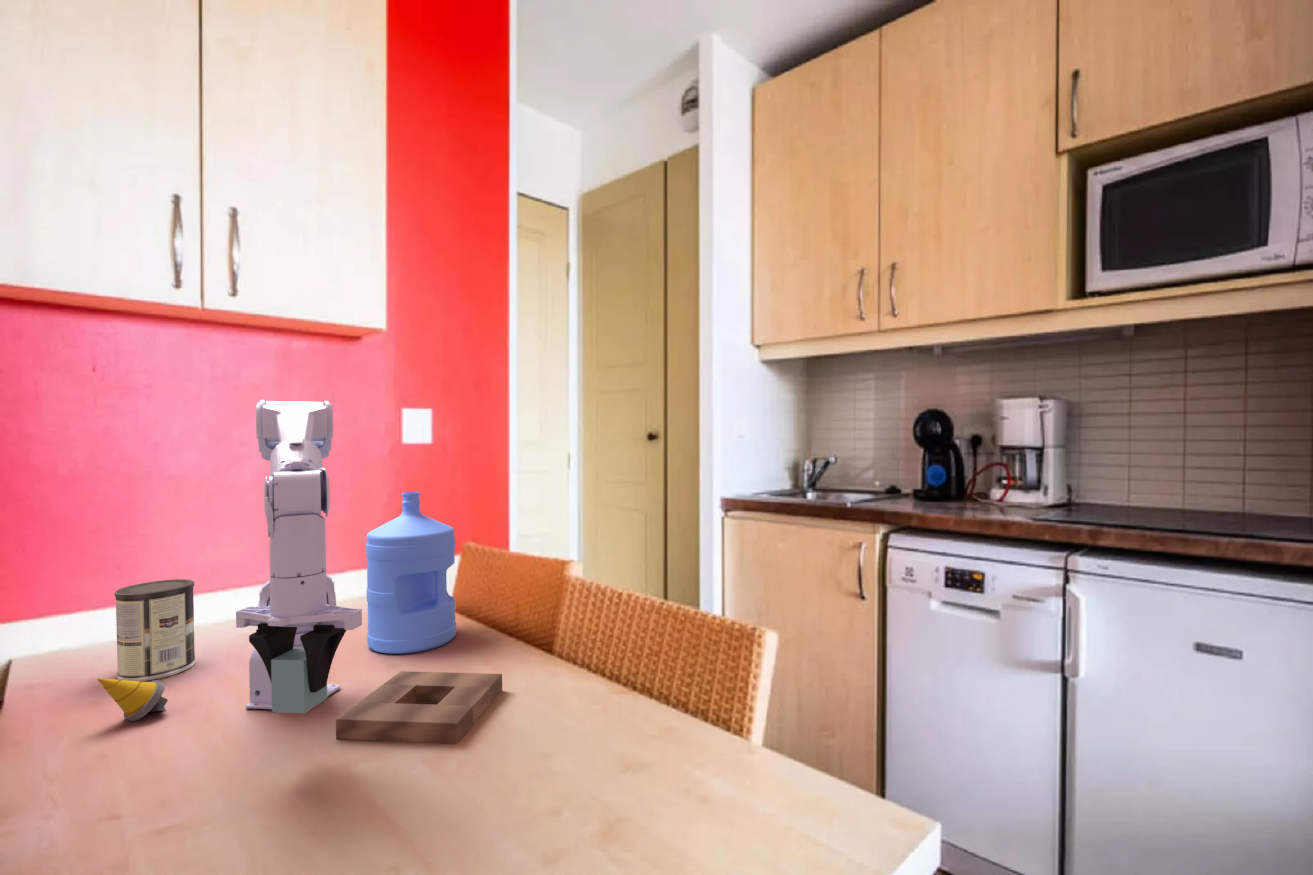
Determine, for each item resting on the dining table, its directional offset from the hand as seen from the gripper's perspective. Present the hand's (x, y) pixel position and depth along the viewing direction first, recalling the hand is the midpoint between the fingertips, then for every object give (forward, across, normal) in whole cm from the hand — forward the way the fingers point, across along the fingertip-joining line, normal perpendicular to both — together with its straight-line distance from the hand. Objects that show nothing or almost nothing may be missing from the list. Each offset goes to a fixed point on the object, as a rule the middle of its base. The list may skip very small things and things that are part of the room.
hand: (300, 688), depth 72 cm
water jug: (+9, -9, +43) cm, 45 cm away
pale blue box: (+2, 0, 0) cm, 2 cm away
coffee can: (+9, -45, +26) cm, 52 cm away
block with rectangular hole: (+9, +8, +14) cm, 19 cm away
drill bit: (+9, -31, +9) cm, 33 cm away
